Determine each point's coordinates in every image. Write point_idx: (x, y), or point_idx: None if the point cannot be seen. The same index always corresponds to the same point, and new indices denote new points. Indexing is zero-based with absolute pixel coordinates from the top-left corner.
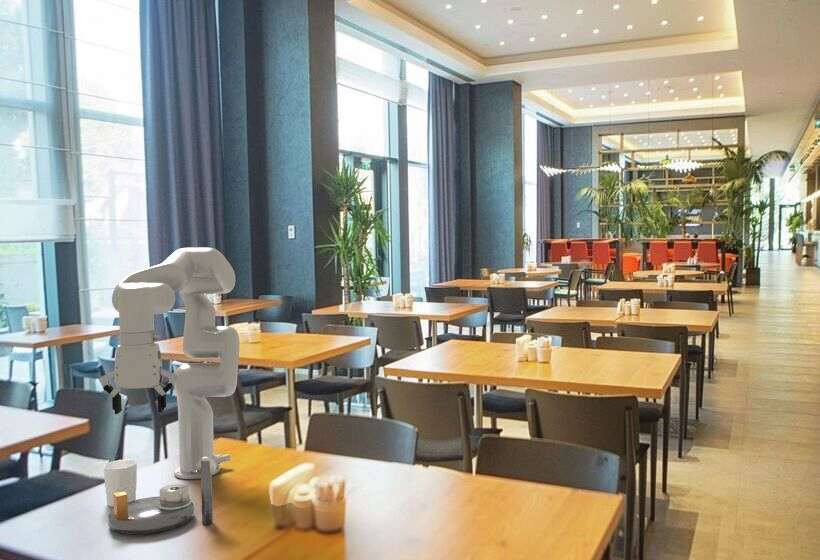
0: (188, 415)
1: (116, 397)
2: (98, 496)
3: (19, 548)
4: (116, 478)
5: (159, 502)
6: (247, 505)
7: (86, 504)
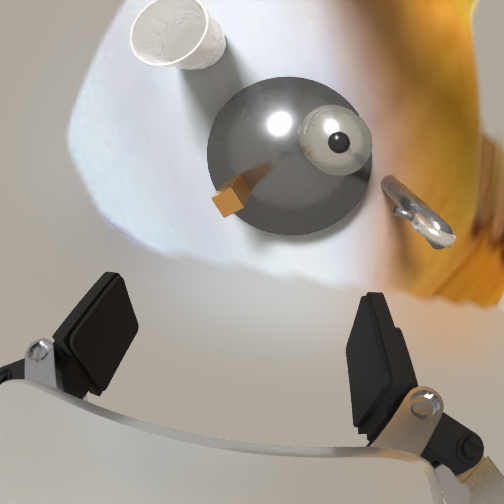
0: None
1: (99, 394)
2: None
3: (122, 229)
4: (177, 66)
5: (300, 130)
6: (449, 119)
7: None
